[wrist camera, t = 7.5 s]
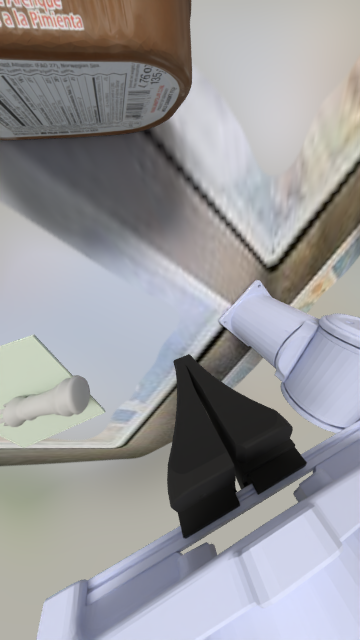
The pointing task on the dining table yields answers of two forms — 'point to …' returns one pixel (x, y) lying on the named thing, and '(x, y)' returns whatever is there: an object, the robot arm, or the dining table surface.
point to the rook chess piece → (48, 402)
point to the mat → (35, 389)
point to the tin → (91, 66)
